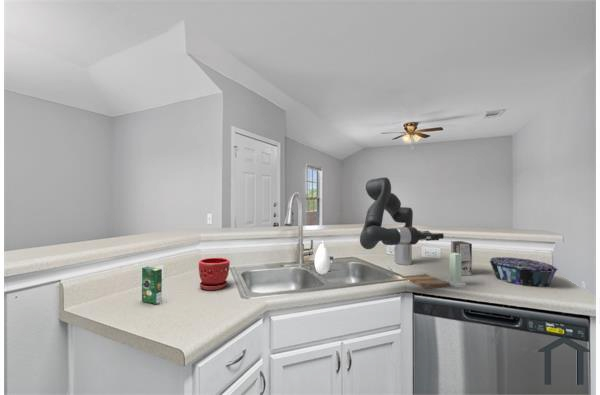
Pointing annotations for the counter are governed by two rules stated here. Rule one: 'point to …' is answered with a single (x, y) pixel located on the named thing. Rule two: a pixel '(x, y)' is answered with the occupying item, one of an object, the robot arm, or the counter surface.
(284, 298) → the counter surface
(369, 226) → the robot arm
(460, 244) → the coffee box
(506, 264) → the decorative bowl
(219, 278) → the plant pot
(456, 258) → the mint green tall block
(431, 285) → the wooden cutting board
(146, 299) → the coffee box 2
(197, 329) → the counter surface
